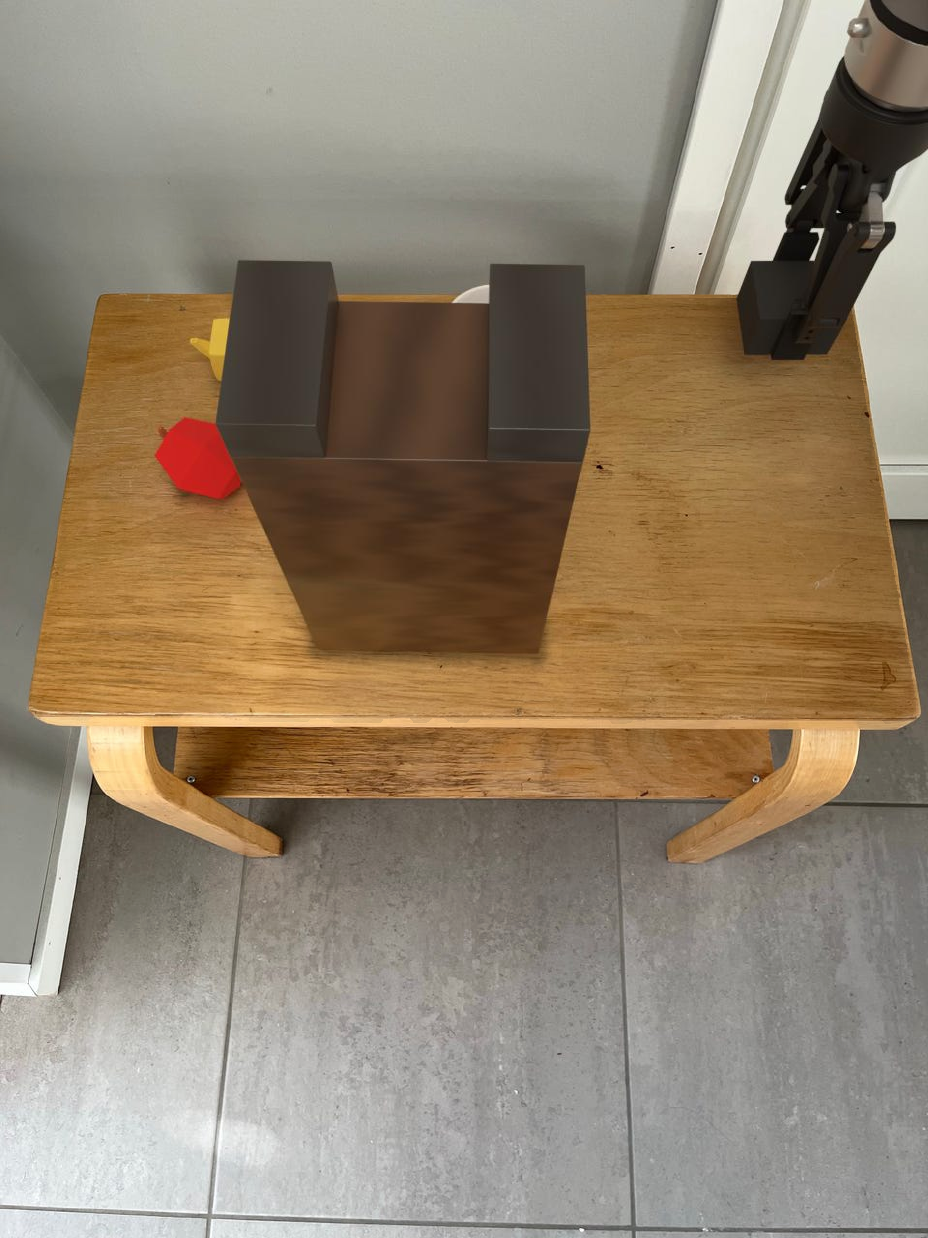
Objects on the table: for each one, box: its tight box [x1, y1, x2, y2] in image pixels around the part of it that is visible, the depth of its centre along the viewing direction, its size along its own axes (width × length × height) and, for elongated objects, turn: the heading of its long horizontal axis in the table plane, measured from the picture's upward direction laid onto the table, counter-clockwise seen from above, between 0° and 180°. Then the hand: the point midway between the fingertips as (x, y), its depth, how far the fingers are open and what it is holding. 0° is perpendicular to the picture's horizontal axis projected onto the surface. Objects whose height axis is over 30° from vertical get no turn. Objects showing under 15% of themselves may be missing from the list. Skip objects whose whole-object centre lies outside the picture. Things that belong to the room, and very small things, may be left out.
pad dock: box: [214, 259, 591, 655], centre depth 61 cm, size 18×10×33 cm, turn 89°
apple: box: [154, 416, 242, 501], centre depth 78 cm, size 7×7×8 cm
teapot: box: [189, 317, 230, 382], centre depth 82 cm, size 8×6×5 cm
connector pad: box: [735, 260, 847, 356], centre depth 76 cm, size 7×6×4 cm
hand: (781, 323), depth 78 cm, fingers closed on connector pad, 6 cm apart
